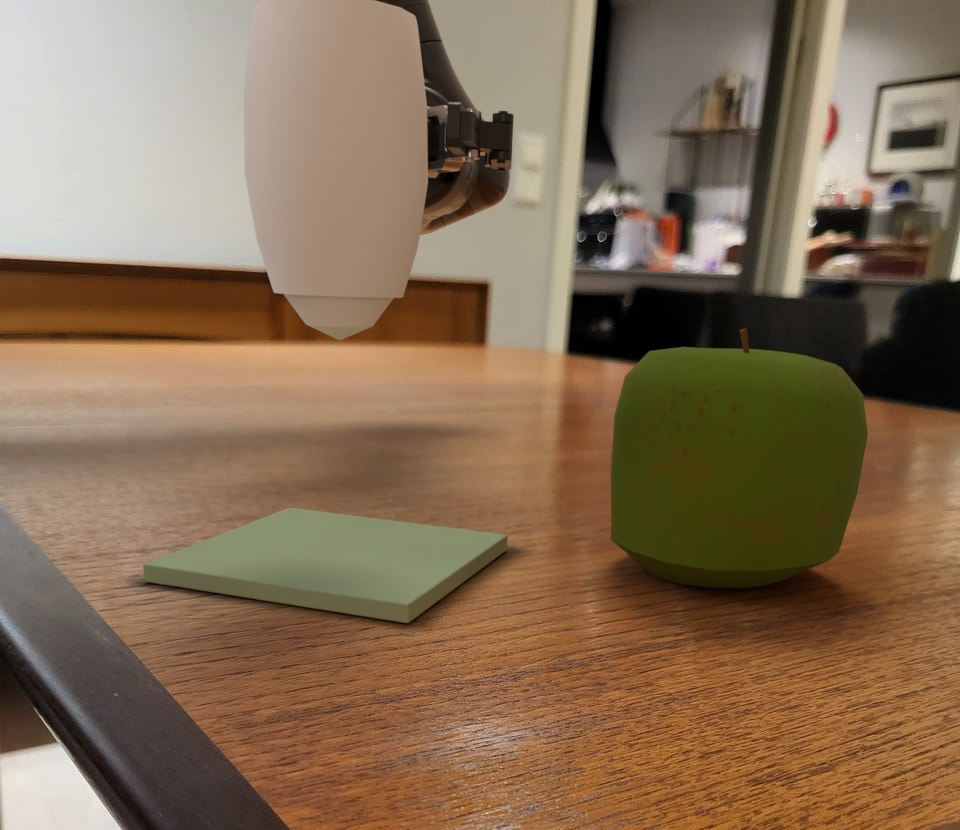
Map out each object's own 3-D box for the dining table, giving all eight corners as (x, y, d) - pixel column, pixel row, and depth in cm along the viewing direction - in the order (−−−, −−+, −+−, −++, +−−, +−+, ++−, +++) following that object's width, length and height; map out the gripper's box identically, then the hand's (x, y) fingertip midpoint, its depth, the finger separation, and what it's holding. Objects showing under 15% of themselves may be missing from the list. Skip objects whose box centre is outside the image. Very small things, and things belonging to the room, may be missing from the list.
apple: (810, 627, 39) (857, 340, 36) (562, 579, 44) (580, 322, 40) (860, 565, 49) (901, 331, 45) (649, 531, 53) (671, 317, 50)
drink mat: (143, 582, 42) (142, 563, 41) (289, 522, 52) (289, 507, 52) (408, 624, 38) (408, 604, 38) (507, 550, 49) (508, 534, 48)
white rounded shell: (259, 570, 41) (236, -19, 34) (259, 528, 48) (239, 27, 40) (434, 567, 42) (447, 1, 35) (410, 526, 49) (417, 43, 42)
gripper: (314, 90, 68) (240, 37, 52) (524, 97, 67) (511, 44, 52) (316, 211, 70) (246, 193, 55) (518, 219, 69) (504, 202, 54)
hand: (374, 121), depth 53 cm, fingers open, 8 cm apart
